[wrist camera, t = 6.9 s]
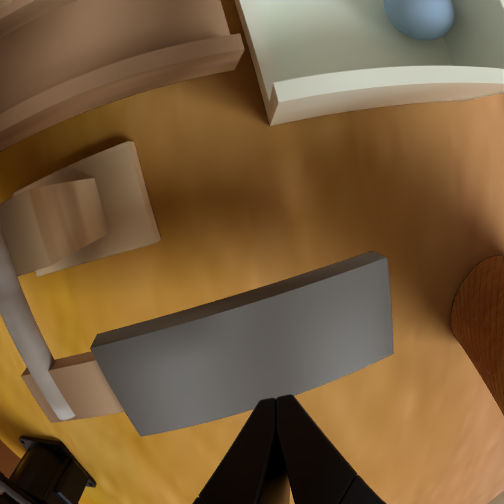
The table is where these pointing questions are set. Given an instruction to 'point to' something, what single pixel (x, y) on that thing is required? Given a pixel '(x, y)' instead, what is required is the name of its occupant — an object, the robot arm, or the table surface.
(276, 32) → the white storage tray
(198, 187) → the table surface
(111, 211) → the fulcrum stand
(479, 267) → the disposable coffee cup
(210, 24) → the lever
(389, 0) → the ball
